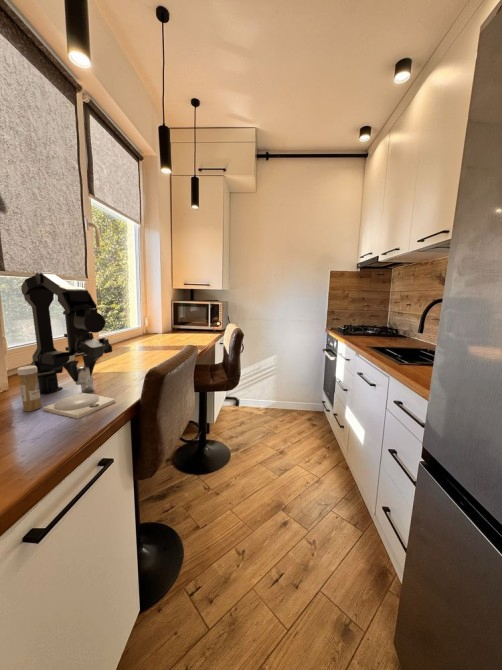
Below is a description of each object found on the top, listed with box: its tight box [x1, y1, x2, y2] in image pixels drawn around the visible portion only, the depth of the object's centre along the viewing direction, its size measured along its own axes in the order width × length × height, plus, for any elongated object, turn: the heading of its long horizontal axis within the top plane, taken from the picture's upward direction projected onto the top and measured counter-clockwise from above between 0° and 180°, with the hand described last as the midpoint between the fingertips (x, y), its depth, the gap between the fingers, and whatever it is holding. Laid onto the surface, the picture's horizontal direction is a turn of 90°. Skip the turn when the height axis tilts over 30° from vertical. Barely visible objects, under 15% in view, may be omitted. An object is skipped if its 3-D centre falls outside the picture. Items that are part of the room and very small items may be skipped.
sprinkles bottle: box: [16, 365, 42, 412], centre depth 80 cm, size 5×5×13 cm
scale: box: [42, 392, 116, 420], centre depth 84 cm, size 15×13×2 cm
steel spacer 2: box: [80, 376, 95, 394], centre depth 96 cm, size 4×4×5 cm
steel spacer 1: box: [74, 365, 91, 386], centre depth 81 cm, size 4×4×5 cm
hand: (82, 379), depth 82 cm, fingers closed on steel spacer 1, 4 cm apart
